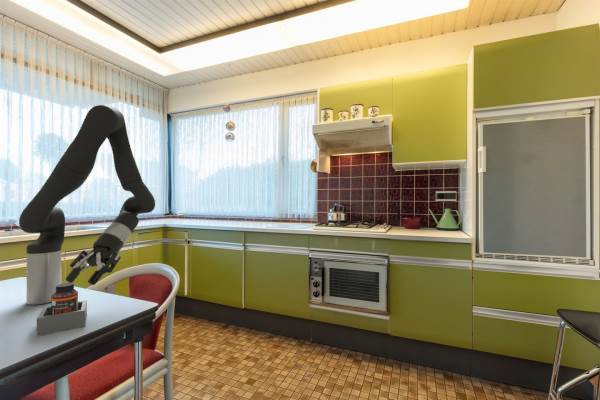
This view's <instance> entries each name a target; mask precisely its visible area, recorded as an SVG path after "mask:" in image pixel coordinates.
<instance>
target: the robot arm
mask: <svg viewBox="0 0 600 400" xmlns="http://www.w3.org/2000/svg"><path fill="white" fill-rule="evenodd" d="M82 121H83V122H82V124H81V125H80V126H81V127H80V128H79V130H78V132H77V134H76V136H75V137H74V139H73V140H72V142H71V143H70V145H69V146H68V147H67V149H66V150H65V152H64V154H63V155H62V156H61V157H60V159H59V160H58V162H57V163H56V164H55V167H54V168H53V170H52V172H51V174H49V177H48V178H47V179H46V180H45V181H44V184H42V186H41V188H40V189H39V191H38V192H37V193H36V194H35V195H34V197H33V198H32V199H31V200H30V202H29V203H28V204H27V205H26V206H25V208H24V209H23V210H22V211H21V214H20V216H19V218H18V219H19V220H18V225H19V228H20V230H21V231H23V232H24V233H27V234H39V236H38V238H36V239H35V240H34V241H33V242H30V243H28V244H27V246H26V250H25V251H26V254H25V255H26V257H25V258H26V262H25V263H26V294H25V296H26V304H27V305H32V306H33V305H43V304H48V303H51V296H52V295H53V294H54V293H55V292H56V286H57V285H59V284H62V248H63V247H62V246H63V244H64V242H65V234H66V233H65V230H66V216H65V213H64V211H63V210H62V209H61V208H60V207H58V206H57V204H59V203H60V201H61V200H63V199H64V198H66V197H67V196H69V195H71V194H72V193H73V192H75V191H76V190H78V189H79V188H80V187H81V186H82V185H83V184H84V183H85V182H86V181H87V179H88V178H89V176H90V175H91V173H92V171H93V169H94V167H95V165H96V159H97V155H98V152H99V150H100V148H101V147H102V145H103V144H104V142H105V141H106V140H108V143H109V145H110V147H111V150H112V158H113V164H114V165H113V166H114V169H115V173H116V176H117V177H118V180H119V184H120V185H121V188H122V189H123V190H124V191H126V192H129V193H131V194H132V196H129V197H128V198H127V199H126V200H125V201H124V202H123V204H122V205H121V208H120V211H119V213H118V215H117V216H116V217H115V218H114V220H113V221H112V222H111V223H110V224H109V225H108V226H107V227H106V229H105V228H104V230H103V232H102V233H101V234H100V236H98V238H97V239H96V240H95V242H94V243H93V244H92V245H93V248H92V250H91V251H89V252H87V251H86V250H82V251H81V252H80V253H79V254H78V255H77V256H76V258H74V260H73V261H72V262H71V263H70V264H69V267H71V268H72V270H71V271H70V272H69V273H68V274H67V276H66V277H65V282H66V281H67V283H74V281H76V278H78V276H79V275H80V274H81V272H82V271H84V270H86V269H90V268H92V267H97V268H96V270H95V271H94V272H93V273H92V275H91V276H90V277H89V279H88V280H87V283H88V284H90V285H92V286H95V285H96V284H97V283H98V281H99V280H100V279H101V278H102V277H103V275H106V274H107V273H108V274H110V273H112V272H113V271H114V269H115V268H116V266H117V265H118V263H119V261H120V259H121V258H122V257H121V256H120V255H119V253H120V251H121V249H122V248H123V247H124V246H125V244H126V243H127V242H128V240H129V238H130V237H131V235H132V233H133V232H134V230H135V229H136V228H137V226H138V225H139V222H140V219H139V217H138V215H142V214H147V213H148V214H150V213H152V212H153V211H154V210H155V207H156V199H155V197H154V195H153V194H152V192H151V191H150V190H149V188H148V186H147V185H146V184H145V183H144V180H143V179H142V176H141V173H140V170H139V168H138V164H137V163H136V160H135V157H134V154H133V151H132V147H131V143H130V141H129V140H130V139H129V135H128V131H127V125H126V121H125V117H124V114H123V113H122V111H121V110H119V109H118V108H116V107H114V106H109V105H105V104H98V105H94V106H93V107H92V108H90V109H89V110H88V112H87V113H86V115H85V118H84V119H83V120H82Z"/></svg>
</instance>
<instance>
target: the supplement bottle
mask: <svg viewBox="0 0 600 400" xmlns="http://www.w3.org/2000/svg"><path fill="white" fill-rule="evenodd" d="M78 302H79V292H78V290H77V289H75V283H74V282H72V283H69V282H63V283H61V284H59V285H57V286H56V292H55V293H54V294H53V295H52V296H51V302H50V306H51V315H54V314H60V313H66V312H72V311H77V310H78Z"/></svg>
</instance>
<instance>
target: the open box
mask: <svg viewBox="0 0 600 400" xmlns="http://www.w3.org/2000/svg"><path fill="white" fill-rule="evenodd" d="M87 317H88V300H87V299H84V300H80V301H79V300H78V310H77V311H72V312H66V313H60V314H54V315H51V305H49V306H43V307H42V309H41V310H40V312H39V314H38V316H37V318H36V337H40V336H44V335H49V334H54V333H59V332H65V331H69V330H74V329H80V328H84V327H86V322H87Z"/></svg>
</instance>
